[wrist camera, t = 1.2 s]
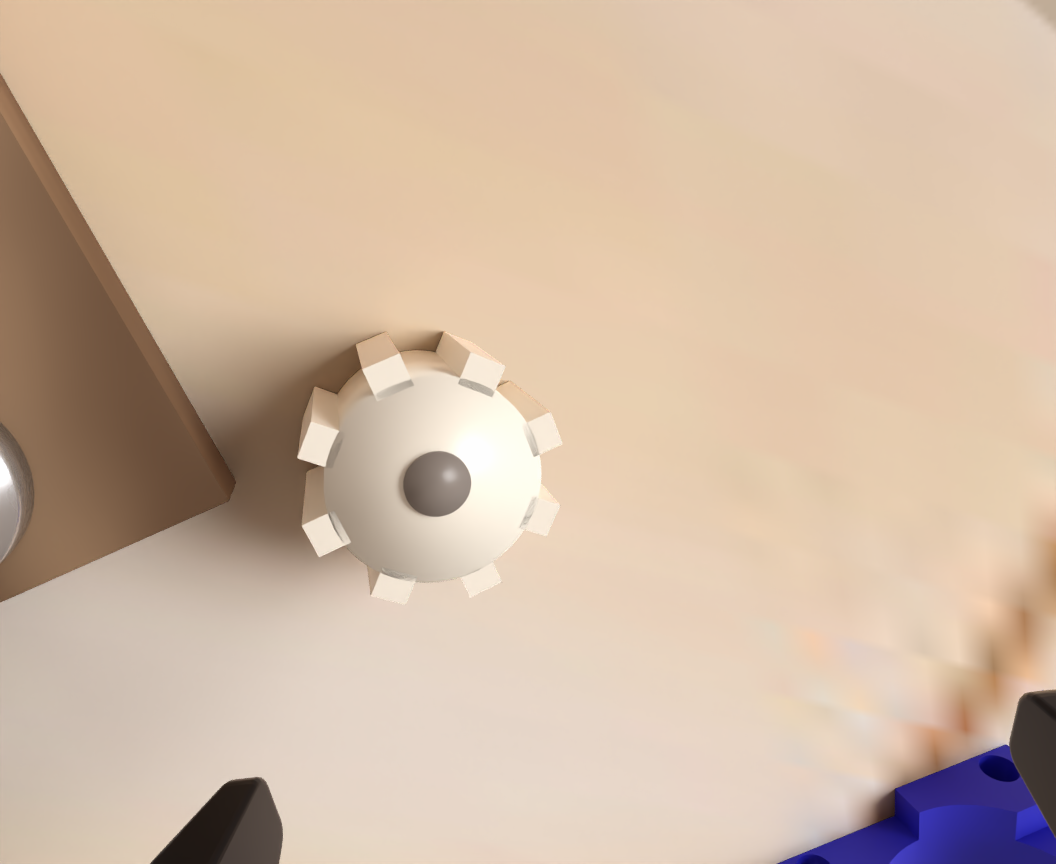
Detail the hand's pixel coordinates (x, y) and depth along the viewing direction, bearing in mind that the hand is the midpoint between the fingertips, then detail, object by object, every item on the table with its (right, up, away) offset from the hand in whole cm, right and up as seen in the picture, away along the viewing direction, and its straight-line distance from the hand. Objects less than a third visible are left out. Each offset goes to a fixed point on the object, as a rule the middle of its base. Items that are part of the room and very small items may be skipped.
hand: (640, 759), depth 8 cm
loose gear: (-5, +4, +12) cm, 13 cm away
